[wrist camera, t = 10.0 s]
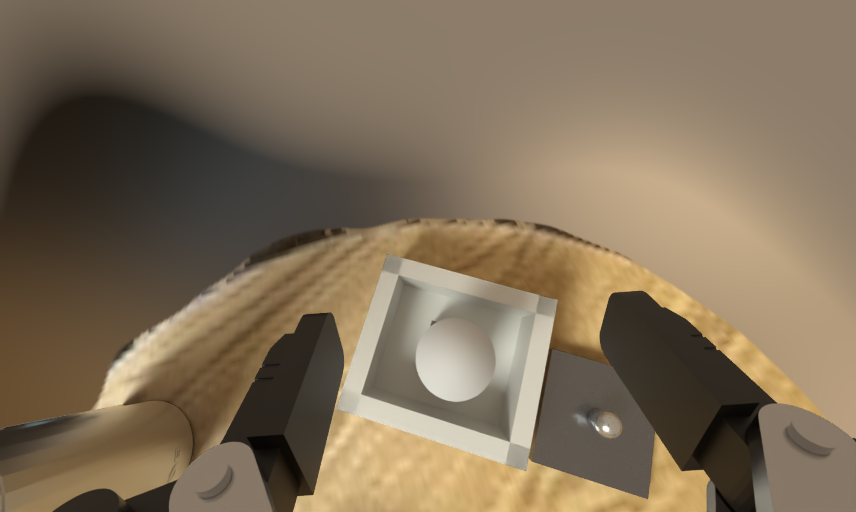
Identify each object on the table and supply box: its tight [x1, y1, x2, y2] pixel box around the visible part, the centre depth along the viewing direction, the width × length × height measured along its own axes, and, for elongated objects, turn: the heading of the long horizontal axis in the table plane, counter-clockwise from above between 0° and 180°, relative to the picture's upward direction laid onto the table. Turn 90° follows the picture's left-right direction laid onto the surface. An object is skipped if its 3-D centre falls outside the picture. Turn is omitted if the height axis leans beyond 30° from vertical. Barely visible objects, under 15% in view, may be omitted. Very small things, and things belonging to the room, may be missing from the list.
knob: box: [415, 318, 496, 402], centre depth 26 cm, size 5×5×12 cm
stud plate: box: [529, 349, 655, 499], centre depth 29 cm, size 10×10×4 cm
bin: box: [336, 254, 558, 471], centre depth 30 cm, size 16×14×6 cm
